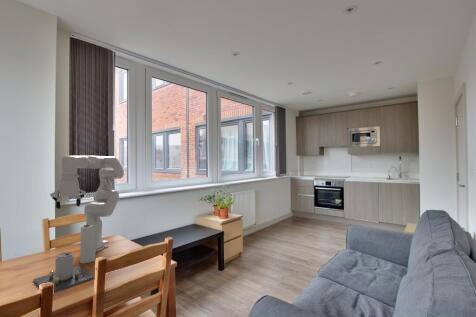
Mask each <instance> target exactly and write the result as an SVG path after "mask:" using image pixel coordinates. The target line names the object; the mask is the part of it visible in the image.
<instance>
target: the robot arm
mask: <svg viewBox="0 0 476 317" xmlns="http://www.w3.org/2000/svg"><path fill="white" fill-rule="evenodd" d="M60 164H61V165H60V166H61V167H60V168H61V169H60V179H59V180H58V183H57V190H56V191H52V193H50V194H49V196H50V197H51V198H52V200H53V201H55V207H56V209H58V210H59V209H61V200H62V199H64V198H65V199H67V198H75V197H76V203H75V206H76V207H80V205H81V203H82V202H81V200H82V199H83V197H84V196H85V194H86V193H87V191H85V190H83V189H80V182H79V181H80V180H79V179H78V178H80V177H81V176H80V174H78V169H99V172H98V176H99V181H100V182H99V186H98V188H97V189H96V192H95V193H94V196H93V201H91V202H89V203H86V205H85V206H84V208H83V211H84V218H85V225H93V226H96V253H97V252H100V251H102V250H104V248H105V245H109V244H110V241H109V240H103V239H102V238H103V236H102V234H103V222H102V218H108V217H111V216H112V214H113V213H114V211H115V209H116V207H117V204H118V202H119V199H120V193H119V191H117V190H115V189H113V188H114V187H113V184H112V182H111V179H112V180H119V179H122V178H124V174H125V171H124V168H123V166H122V164H121V163H120V161H119V160H118V158H117V157H115V156H110V155H109V156H105V155H101V156H100V155H70V154H69V155H64V156H62V157H61V163H60ZM80 192H81V194H80ZM56 195H57V197H56Z"/></svg>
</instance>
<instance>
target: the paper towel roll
mask: <svg viewBox="0 0 476 317" xmlns="http://www.w3.org/2000/svg"><path fill="white" fill-rule="evenodd" d="M79 249H80V250H79V253H80V255H79V263H80V264H88V263H92V262H95V261H96V255H97V254H96V253H97V252H96V226H93V225H86V224H85V225H80V248H79Z"/></svg>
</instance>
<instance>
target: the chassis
mask: <svg viewBox="0 0 476 317" xmlns="http://www.w3.org/2000/svg"><path fill="white" fill-rule="evenodd" d="M94 279H95V276H94V275H92V274H91V273H90V272H88V271H86V269H84V268H82V267H81V266H80V265H77V266H73V276H71V278H69V279H67V280H62V281H59V276H56V277H55V272H54V270H50V271H49V274H46V275H43V276H39V277H35V278H33V283H34V284H35V285H36V286H37V287H38V288H39V285H40V284H42V283H47V282H52V283H53V284H54V293H57V292H59V290H60V291H62V290H63V291H64V290H65V289H68V288H72V287H74V286H77V285H80V284H84V283H86V282H88V281H89V282H90V281H92V280H94ZM85 281H86V282H85Z"/></svg>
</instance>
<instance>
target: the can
mask: <svg viewBox="0 0 476 317" xmlns="http://www.w3.org/2000/svg"><path fill="white" fill-rule="evenodd" d="M74 258H75V256H74V255H73V253H72V251H71V252H69V251H68V252H67V251H65V252H61V253H58V254H57V257H55V265H54V266H55V269H54V270H55V272H54V273H55V277H56V276H59V281H62V280H67V279H69V278H71V276H73V267H74V263H75V262H74V260H75V259H74Z"/></svg>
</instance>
